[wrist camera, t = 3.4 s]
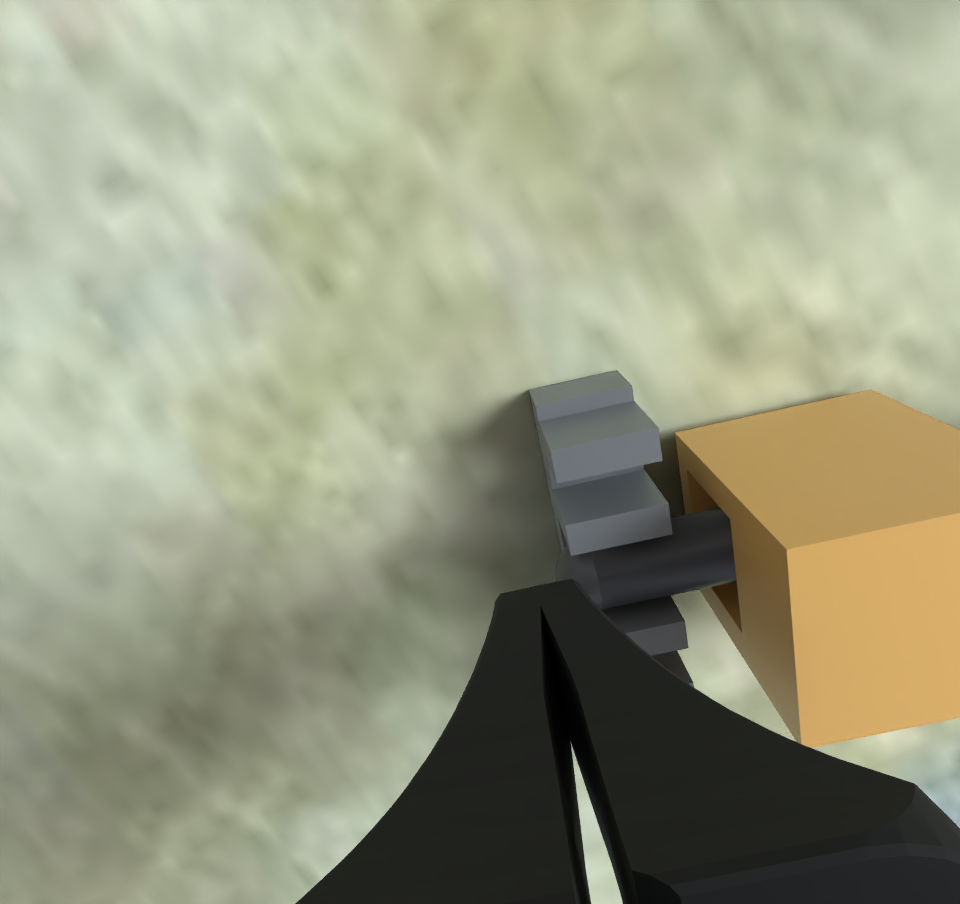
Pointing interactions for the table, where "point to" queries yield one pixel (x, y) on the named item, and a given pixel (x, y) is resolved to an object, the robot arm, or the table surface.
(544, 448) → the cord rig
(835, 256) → the table surface
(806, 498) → the sleeve
